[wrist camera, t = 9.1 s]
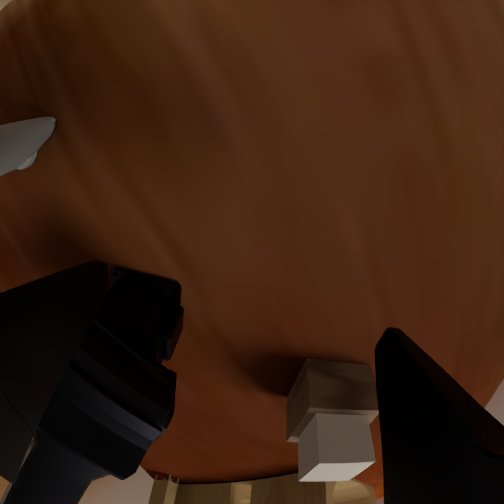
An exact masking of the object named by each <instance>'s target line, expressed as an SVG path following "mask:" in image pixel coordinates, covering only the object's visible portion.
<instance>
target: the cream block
mask: <svg viewBox="0 0 504 504" xmlns="http://www.w3.org/2000/svg"><path fill="white" fill-rule="evenodd" d="M374 462H375V456H374V450H373V444H372V438H371V433H370V427H369V422H368V417H367V415H340V414H322V413H316V414H315V416H314V417H313V418H312V420H311V421H310V422H309V424H308V425H307V426H306V428H305V429H304V431H303V432H302V433H301V434H300V436H299V437H298V481H314V482H317V481H348V480H350V479H352V478H353V477H355V476H356V475H357V474H359V473H360V472H362V471H363V470H365V469H366V468H367V467H369V466H370V465H371V464H373V463H374Z"/></svg>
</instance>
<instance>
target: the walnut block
mask: <svg viewBox="0 0 504 504" xmlns="http://www.w3.org/2000/svg"><path fill="white" fill-rule="evenodd" d="M316 413H322V414H340V415H367V417H368V422H369V424H370V423H371V422H372V421H373V420H374V419H375V417H376V416H377V415H378V414H379V411H378V402H377V393H376V384H375V381H374V377H373V373H372V370H371V366H370V365H368V364H356V363H346V362H337V361H328V360H320V359H312V358H306V360H305V362H304V364H303V366H302V368H301V370H300V372H299V374H298V377H297V379H296V381H295V383H294V385H293V387H292V389H291V391H290V393H289V395H288V397H287V442H298V437H299V436H300V434H301V433H302V432H303V431H304V429H305V428H306V426H307V425H308V424H309V422H310V421H311V420H312V418H313V417H314V416H315V414H316Z"/></svg>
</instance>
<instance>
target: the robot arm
mask: <svg viewBox="0 0 504 504" xmlns="http://www.w3.org/2000/svg"><path fill="white" fill-rule="evenodd" d="M115 272H116V273H117V274H118V275H117V274H116V273H115ZM111 284H112V287H111V288H110V289H109V291H108V288H109V281H108V267H107V264H106V263H105V262H101V261H98V260H93V261H90V262H87V263H84V264H81V265H78V266H75V267H72V268H69V269H66V270H63V271H60V272H57V273H54V274H51V275H48V276H46V277H43V278H40V279H37V280H34V281H31V282H29V283H26V284H23V285H20V286H18V287H15V288H12V289H9V290H7V291H5V293H4V292H1V293H0V476H2V477H3V478H5V479H6V480H7V481H9V485H8V486H7V488H6V490H5V492H4V494H3V496H2V499H1V501H0V504H78V502H79V501H80V499H81V497H82V496H83V494H84V492H85V491H86V489H87V487H88V486H89V484H90V483H91V482H92V481H93V480H96V479H99V478H102V477H104V476H107V475H112V476H114V477H116V478H118V479H120V480H124V479H126V478H128V477H129V476H131V475H133V474H134V473H135V472H136V471H137V469H138V467H139V465H140V463H141V461H142V459H143V457H144V455H145V453H146V452H147V450H148V449H149V447H150V446H151V444H152V443H153V441H155V440H157V439H158V438H159V437H160V436H161V435H162V434H163V433H164V431H165V430H166V429H167V427H168V425H169V424H170V422H171V419H172V417H173V413H174V406H175V390H176V377H177V374H176V373H175V372H173V371H172V370H169V369H167V368H166V367H164V366H163V365H162V361H163V360H165V361H169V360H170V359H171V357H172V354H173V352H174V349H175V347H176V344H177V342H178V339H179V337H180V334H181V332H182V329H183V314H184V309H183V307H182V306H180V303H181V286H180V284H178V283H176V282H172V281H168V280H164V279H160V278H156V277H152V276H148V275H144V274H140V273H136V272H133V271H129V270H125V269H121V268H117V267H115V268H113V269H112V271H111ZM173 287H175V288H176V289H177V290H175V289H174V288H173ZM107 291H108V292H107ZM375 370H376V393H377V402H378V411H379V420H380V431H381V443H382V457H383V479H384V504H504V426H503V425H502V424H501V423H500V422H499V421H498V420H497V419H495V418H494V417H493V416H492V415H491V414H490V413H489V412H488V411H486V410H485V409H484V408H483V407H482V406H481V405H480V404H479V403H478V402H477V401H476V400H475V399H474V398H473V397H472V396H471V395H470V394H469V393H466V390H464V389H463V388H462V387H461V386H460V385H459V384H458V383H457V382H456V381H455V380H454V379H453V378H452V377H451V376H450V375H449V374H448V373H447V372H446V371H445V370H444V369H443V368H442V367H440V366H439V365H438V364H437V363H436V362H435V361H434V360H433V359H432V358H431V357H430V356H429V355H428V354H427V353H425V352H424V351H423V350H422V349H421V348H420V347H419V346H418V345H417V344H416V343H415V342H413V341H412V340H411V339H410V338H409V337H408V336H407V335H406V334H405V333H404V332H402V331H401V330H400V329H398V328H392V327H389V328H387V329H386V330H385V332H384V333H383V335H382V337H381V338H380V340H379V341H378V343H377V345H376V347H375ZM33 436H34V438H33ZM32 438H33V440H32Z"/></svg>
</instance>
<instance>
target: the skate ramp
mask: <svg viewBox="0 0 504 504" xmlns="http://www.w3.org/2000/svg"><path fill="white" fill-rule="evenodd" d="M157 476H158V475H157V474H156V478H155V480H154V483H153V487H152V491H151V496H150V499H149V504H375V496H374V488H373V487H372V486H369V485H367V484H365V483H362V482H360V481H358V480H356V479H353V478H352V479H350V480H348V481H317V482H314V481H298V473H295V474H289V475H284V476H279V477H273V478H266V479H259V480H252V481H243V482H233V483H218V484H178V482H179V478H178V479H177V483H174V482H172V478H171V479H170V477H171V475H170V474H169V479H168V480H165V478H164V480H157Z"/></svg>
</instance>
